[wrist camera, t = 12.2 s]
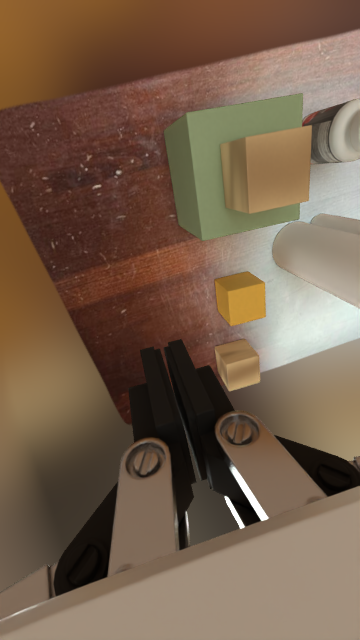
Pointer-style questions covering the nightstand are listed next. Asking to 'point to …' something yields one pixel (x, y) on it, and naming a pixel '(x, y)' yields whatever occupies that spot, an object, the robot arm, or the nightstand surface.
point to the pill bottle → (335, 133)
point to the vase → (323, 254)
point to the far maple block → (237, 364)
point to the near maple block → (267, 170)
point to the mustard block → (240, 298)
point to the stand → (206, 166)
